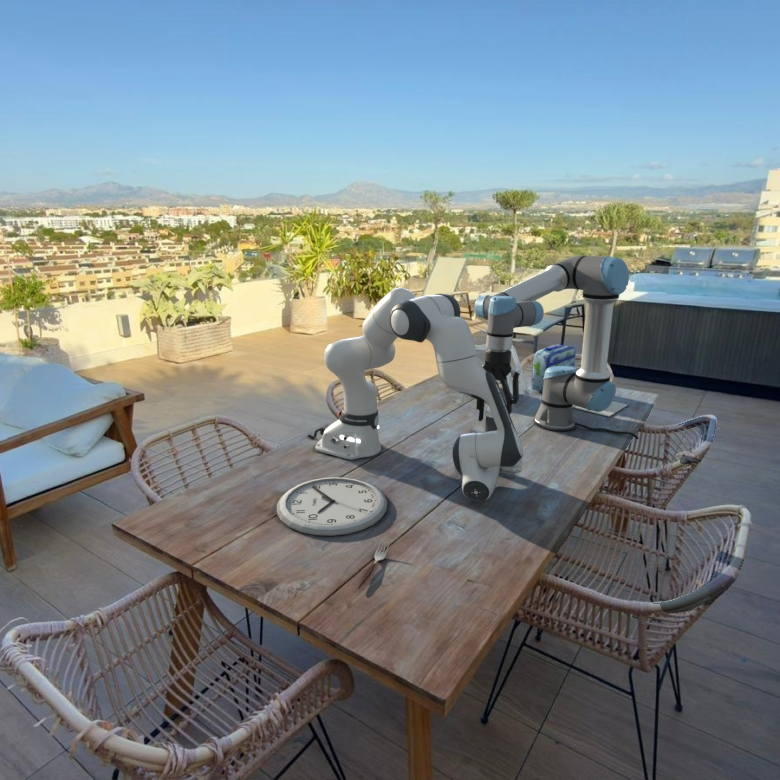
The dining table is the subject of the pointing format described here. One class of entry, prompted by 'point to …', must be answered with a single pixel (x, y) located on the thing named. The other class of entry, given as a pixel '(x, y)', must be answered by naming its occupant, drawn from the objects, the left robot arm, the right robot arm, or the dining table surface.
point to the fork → (378, 557)
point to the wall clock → (331, 506)
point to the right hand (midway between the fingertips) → (492, 421)
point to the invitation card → (607, 409)
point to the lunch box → (550, 362)
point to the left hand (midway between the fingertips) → (490, 449)
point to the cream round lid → (488, 412)
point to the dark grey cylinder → (490, 424)
